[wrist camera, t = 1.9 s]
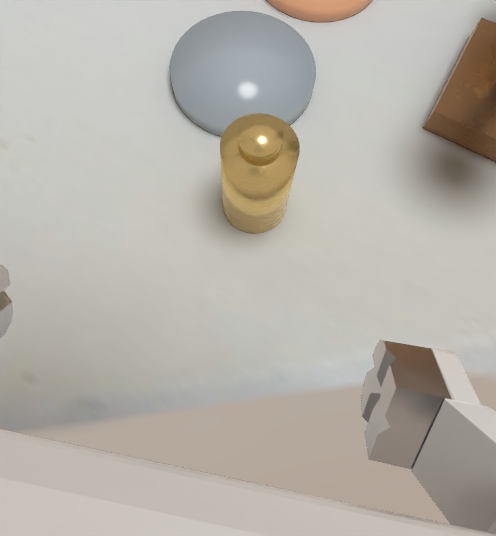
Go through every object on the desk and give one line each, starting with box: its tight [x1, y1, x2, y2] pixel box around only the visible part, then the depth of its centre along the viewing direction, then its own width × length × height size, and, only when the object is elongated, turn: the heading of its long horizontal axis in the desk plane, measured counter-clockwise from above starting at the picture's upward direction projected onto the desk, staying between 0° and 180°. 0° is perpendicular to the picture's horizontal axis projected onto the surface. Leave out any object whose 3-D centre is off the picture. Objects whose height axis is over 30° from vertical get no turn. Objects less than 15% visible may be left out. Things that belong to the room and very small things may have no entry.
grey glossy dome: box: [170, 11, 316, 136], centre depth 34 cm, size 11×11×1 cm
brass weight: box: [220, 113, 299, 233], centre depth 28 cm, size 4×4×8 cm
